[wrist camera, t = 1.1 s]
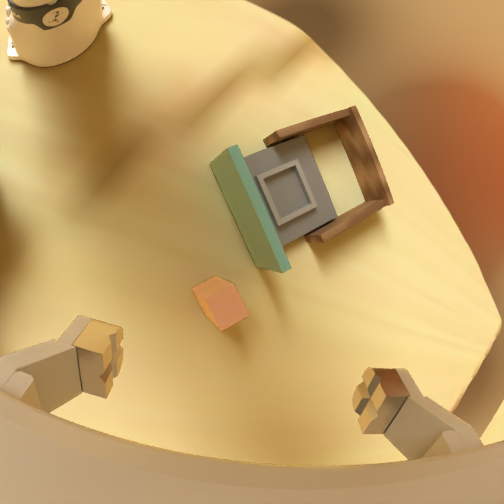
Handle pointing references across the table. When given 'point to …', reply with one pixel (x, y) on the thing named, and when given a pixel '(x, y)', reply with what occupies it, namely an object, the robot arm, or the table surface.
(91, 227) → the table surface
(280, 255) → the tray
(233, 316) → the terracotta block
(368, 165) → the dock
